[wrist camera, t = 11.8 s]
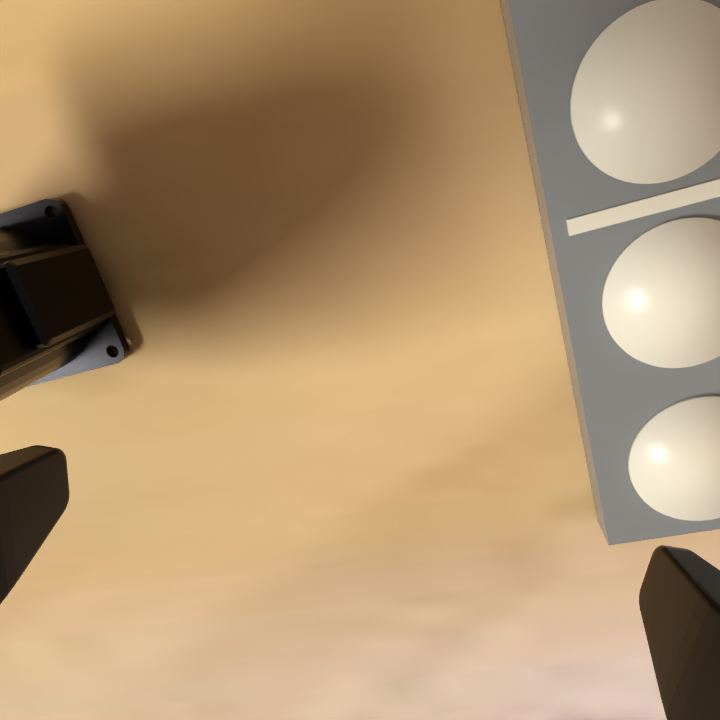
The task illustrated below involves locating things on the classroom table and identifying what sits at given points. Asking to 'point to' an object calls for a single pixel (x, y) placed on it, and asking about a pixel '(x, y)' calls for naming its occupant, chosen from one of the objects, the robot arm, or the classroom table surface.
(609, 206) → the pattern board
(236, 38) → the classroom table surface
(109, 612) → the classroom table surface
